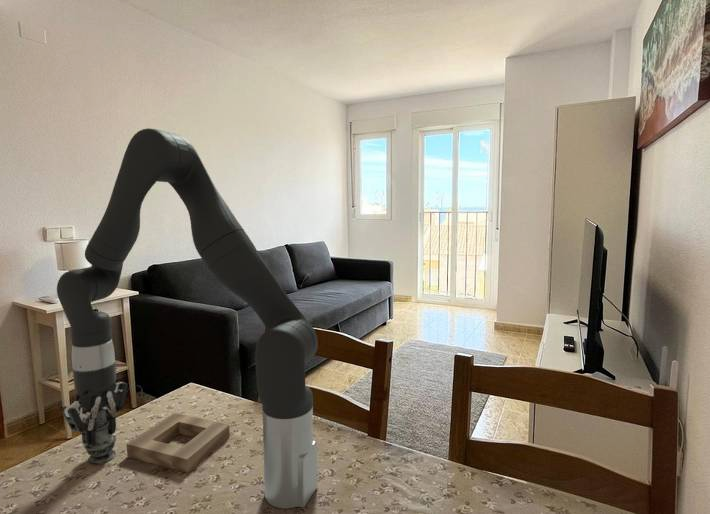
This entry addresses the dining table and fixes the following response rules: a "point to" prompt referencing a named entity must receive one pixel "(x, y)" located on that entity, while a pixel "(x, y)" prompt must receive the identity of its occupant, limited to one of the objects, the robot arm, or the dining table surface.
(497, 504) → the dining table surface
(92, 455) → the grey tall tiered piece
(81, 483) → the dining table surface
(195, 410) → the dining table surface
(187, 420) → the tan picture frame
